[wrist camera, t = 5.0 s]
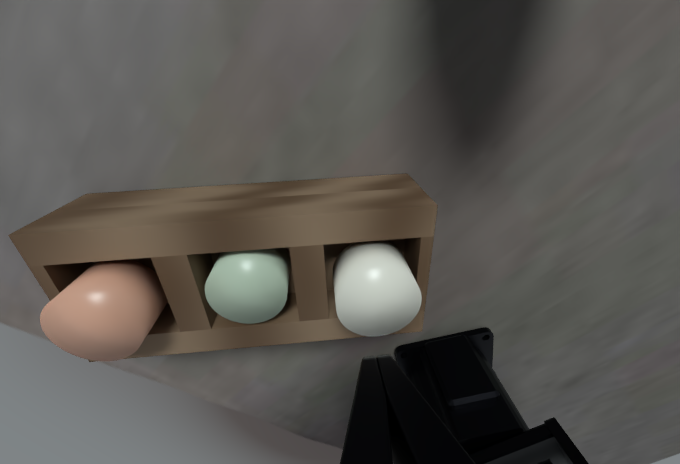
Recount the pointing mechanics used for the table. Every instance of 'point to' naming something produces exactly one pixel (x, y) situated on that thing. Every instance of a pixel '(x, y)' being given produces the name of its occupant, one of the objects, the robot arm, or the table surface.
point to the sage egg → (249, 284)
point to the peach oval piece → (105, 310)
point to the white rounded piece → (374, 289)
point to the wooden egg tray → (235, 249)
